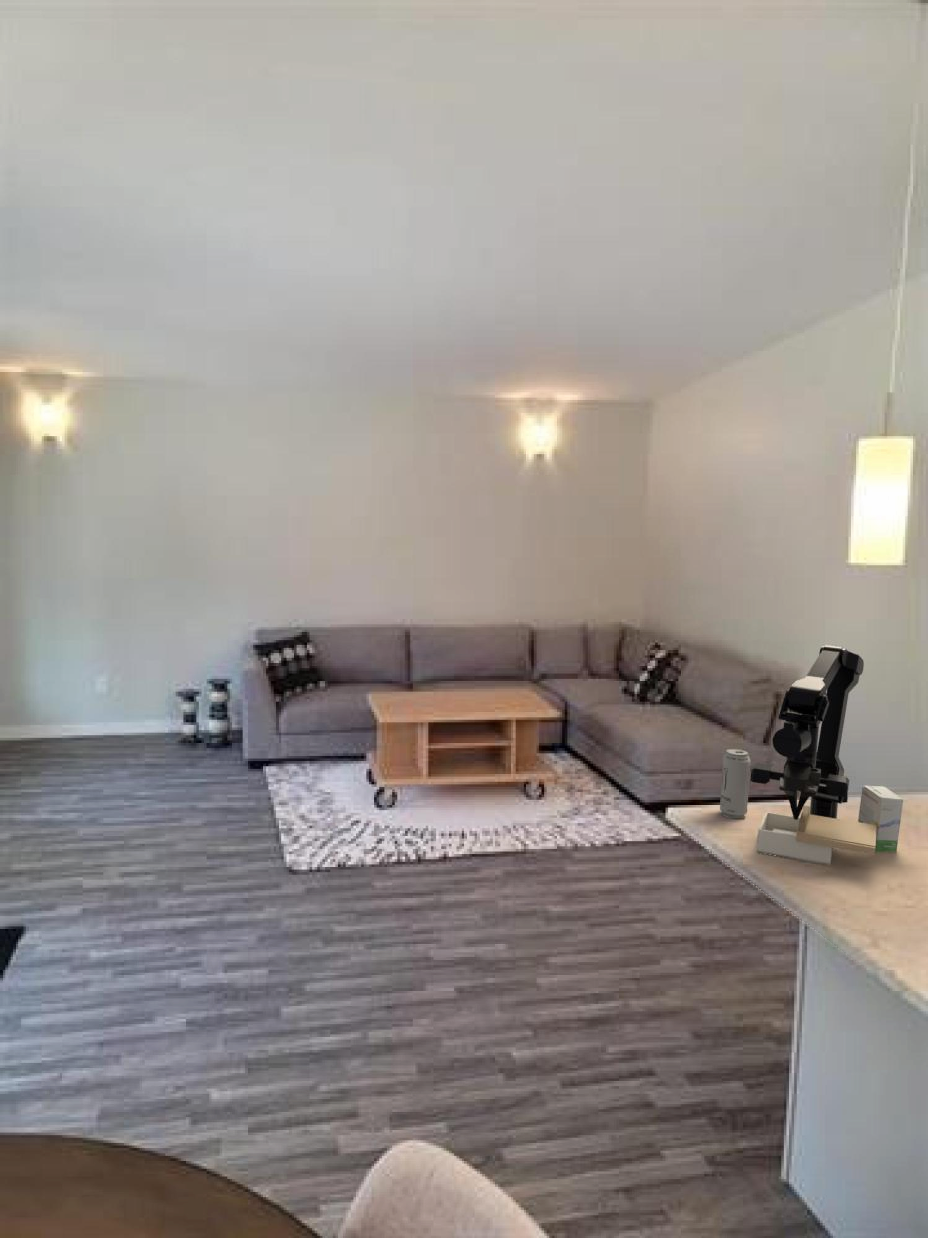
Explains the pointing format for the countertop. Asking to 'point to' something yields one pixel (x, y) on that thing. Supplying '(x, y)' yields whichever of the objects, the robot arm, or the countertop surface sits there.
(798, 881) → the countertop surface
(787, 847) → the mailer box
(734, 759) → the energy drink can
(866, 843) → the lid
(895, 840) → the ink box
